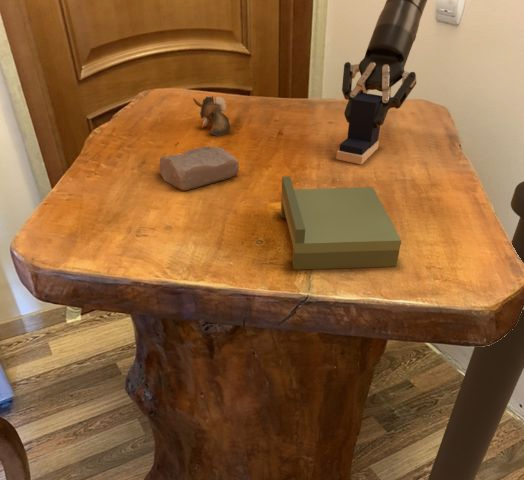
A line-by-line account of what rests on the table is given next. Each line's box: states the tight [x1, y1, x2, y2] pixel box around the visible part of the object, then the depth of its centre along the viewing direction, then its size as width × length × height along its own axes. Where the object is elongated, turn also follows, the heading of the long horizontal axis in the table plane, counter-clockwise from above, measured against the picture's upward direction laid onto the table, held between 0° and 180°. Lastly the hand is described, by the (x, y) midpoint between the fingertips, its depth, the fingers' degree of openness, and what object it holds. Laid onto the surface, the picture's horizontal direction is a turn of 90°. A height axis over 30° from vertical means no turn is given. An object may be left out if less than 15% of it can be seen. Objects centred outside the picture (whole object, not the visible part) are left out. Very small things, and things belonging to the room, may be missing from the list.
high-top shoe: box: [335, 92, 382, 165], centre depth 101 cm, size 9×5×10 cm, turn 152°
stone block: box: [158, 146, 240, 192], centre depth 95 cm, size 12×5×10 cm
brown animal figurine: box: [192, 95, 231, 137], centre depth 112 cm, size 8×7×9 cm
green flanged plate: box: [280, 175, 402, 271], centre depth 78 cm, size 14×16×6 cm
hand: (361, 122), depth 101 cm, fingers closed on high-top shoe, 4 cm apart
